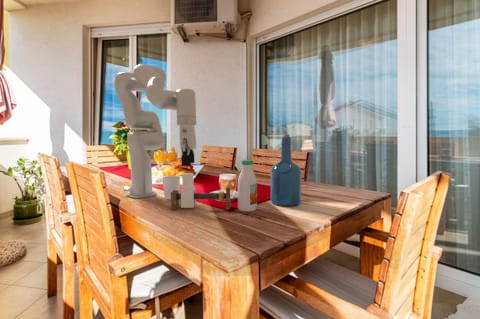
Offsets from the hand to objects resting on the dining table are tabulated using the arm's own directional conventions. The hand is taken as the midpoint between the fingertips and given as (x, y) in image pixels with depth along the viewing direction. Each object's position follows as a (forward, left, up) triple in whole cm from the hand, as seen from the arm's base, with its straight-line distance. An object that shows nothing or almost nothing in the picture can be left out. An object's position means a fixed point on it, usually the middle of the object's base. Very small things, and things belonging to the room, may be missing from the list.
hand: (188, 164), depth 108 cm
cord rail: (+5, 0, -18) cm, 19 cm away
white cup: (-11, +17, -18) cm, 28 cm away
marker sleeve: (0, 0, -18) cm, 18 cm away
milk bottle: (+24, -2, -18) cm, 30 cm away
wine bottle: (+41, +7, -18) cm, 45 cm away
